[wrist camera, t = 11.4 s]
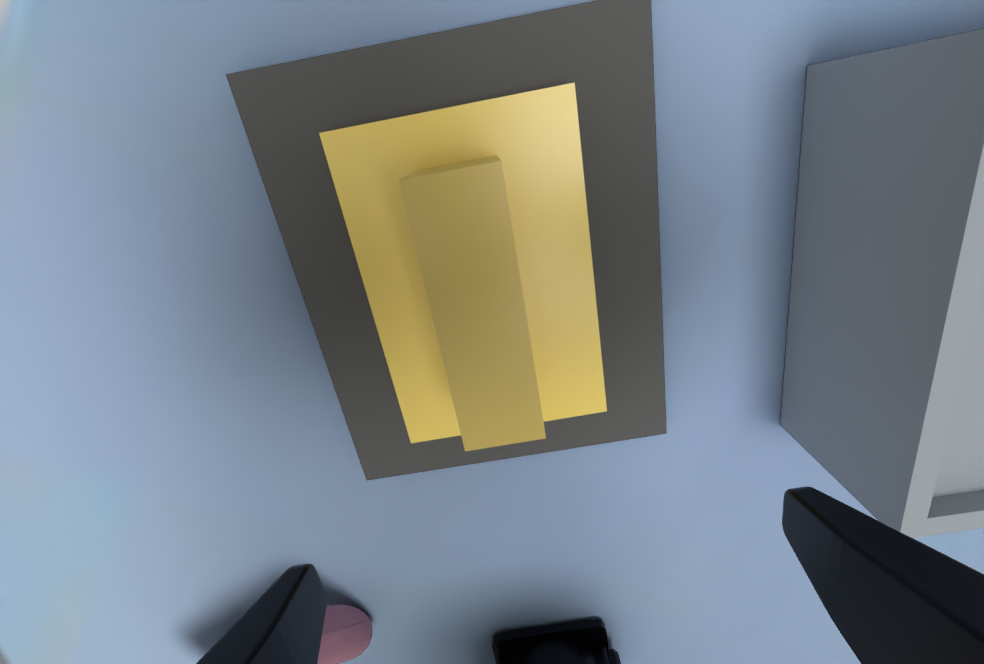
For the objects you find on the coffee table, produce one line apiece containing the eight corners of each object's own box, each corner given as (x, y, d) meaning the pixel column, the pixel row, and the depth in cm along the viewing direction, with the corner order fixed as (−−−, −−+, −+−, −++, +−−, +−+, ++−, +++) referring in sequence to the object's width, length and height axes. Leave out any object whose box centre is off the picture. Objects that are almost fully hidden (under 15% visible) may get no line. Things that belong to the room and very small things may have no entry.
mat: (369, 471, 23) (366, 480, 22) (234, 76, 16) (225, 74, 16) (661, 425, 22) (666, 433, 21) (644, -5, 16) (650, -10, 15)
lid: (413, 429, 21) (397, 502, 17) (328, 133, 16) (276, 132, 12) (601, 398, 21) (631, 465, 17) (569, 85, 16) (600, 68, 12)
